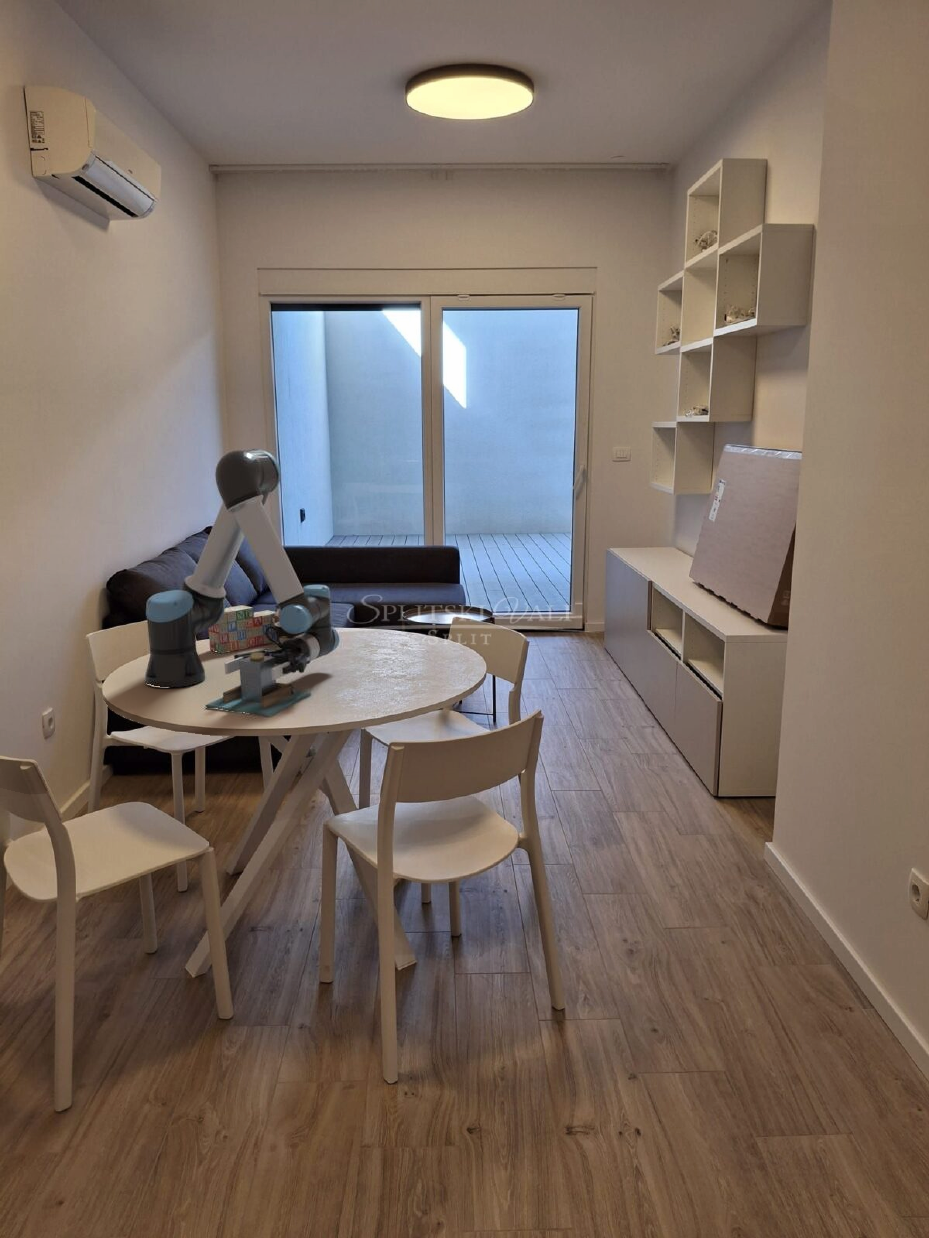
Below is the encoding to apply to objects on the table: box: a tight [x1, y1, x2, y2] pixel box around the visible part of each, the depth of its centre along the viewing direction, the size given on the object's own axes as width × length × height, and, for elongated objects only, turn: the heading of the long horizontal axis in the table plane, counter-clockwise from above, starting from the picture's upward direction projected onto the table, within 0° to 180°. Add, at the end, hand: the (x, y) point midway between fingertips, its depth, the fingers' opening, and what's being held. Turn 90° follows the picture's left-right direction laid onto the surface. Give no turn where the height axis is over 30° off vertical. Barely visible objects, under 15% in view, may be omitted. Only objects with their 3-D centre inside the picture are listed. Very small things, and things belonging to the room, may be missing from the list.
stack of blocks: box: [207, 605, 278, 654], centre depth 268 cm, size 21×6×12 cm, turn 136°
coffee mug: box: [266, 622, 304, 648], centre depth 256 cm, size 12×9×10 cm
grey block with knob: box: [239, 653, 277, 703], centre depth 213 cm, size 6×6×11 cm
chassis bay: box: [205, 682, 312, 718], centre depth 214 cm, size 18×18×3 cm
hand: (249, 671), depth 209 cm, fingers open, 13 cm apart
